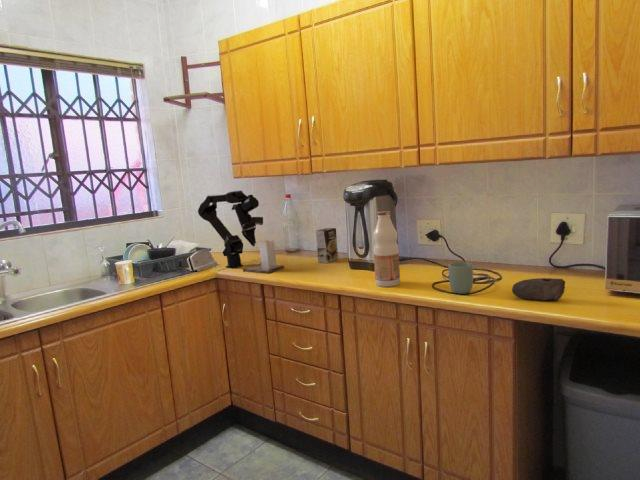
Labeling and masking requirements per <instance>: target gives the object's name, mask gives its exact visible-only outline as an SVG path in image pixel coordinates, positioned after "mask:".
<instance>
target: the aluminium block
mask: <svg viewBox="0 0 640 480" xmlns="http://www.w3.org/2000/svg"><path fill="white" fill-rule="evenodd" d="M258 246H259V254H260V264H261V267H262V269H266V270H270V269H273V268H277V266H276V265H277V258H276V249H275V248H276V247H275V240H270V239H269V240H268V239H267V240H266V239H265V240H263V241H258Z"/></svg>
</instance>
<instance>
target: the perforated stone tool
mask: <svg viewBox="0 0 640 480" xmlns="http://www.w3.org/2000/svg"><path fill="white" fill-rule="evenodd" d="M565 286H566V281H565V280H564V279H563V278H553V277H552V278H551V277H550V278H547V277H546V278H545V277H541V278H528V279H522V280H520V281H517V282H515V283H514V284H513V286H512V288H511V292H512V293H513V295H514V296H516V297H517V298H520V299H523V300H532V301H542V302H545V301H549V300H551V301H555V302H556V301H558V300H559V299H561V298H562V296H563V295H564V293H565V289H566V287H565Z"/></svg>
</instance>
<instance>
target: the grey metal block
mask: <svg viewBox="0 0 640 480" xmlns="http://www.w3.org/2000/svg"><path fill="white" fill-rule="evenodd" d="M186 262H187V265H188V267H189V271H192V272H194V271H197V272H198V271H199V272H202V271H204V269H205V270H207V269H210V268H212V267H215V266H218V265H219V264H218V261H216V260H215V259H214V257H213V255H212V253H211V251H209V250H199V251H195V252H194V253H192V254H191V255H190V256H188V258H186ZM201 270H202V271H201Z"/></svg>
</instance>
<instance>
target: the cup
mask: <svg viewBox="0 0 640 480" xmlns="http://www.w3.org/2000/svg"><path fill="white" fill-rule="evenodd" d="M448 280H449V281H448V282H449V286H450V289H451V291H452V292H453V293H455V294H457V293H458V295H465V294H469V293H470V292H471V291H472V289H473V285H474V284H473V283H474V265H473V263H472V262H469V261H453V262H449V264H448Z"/></svg>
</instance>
